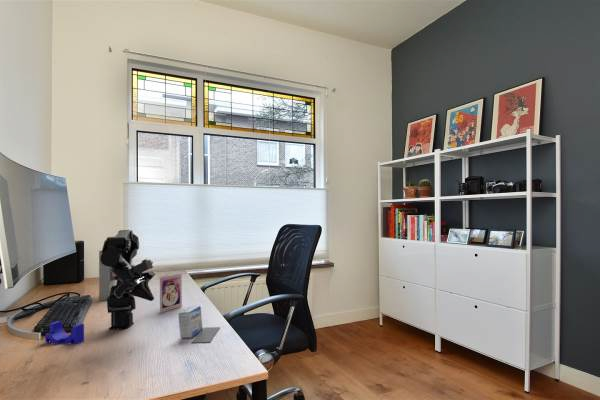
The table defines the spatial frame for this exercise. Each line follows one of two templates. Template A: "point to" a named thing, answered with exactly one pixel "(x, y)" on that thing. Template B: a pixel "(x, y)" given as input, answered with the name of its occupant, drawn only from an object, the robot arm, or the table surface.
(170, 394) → the table surface
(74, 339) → the blue notched block
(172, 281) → the greeting card
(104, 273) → the tall grey pillar
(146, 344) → the table surface
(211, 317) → the table surface
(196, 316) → the medicine box
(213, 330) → the pad
